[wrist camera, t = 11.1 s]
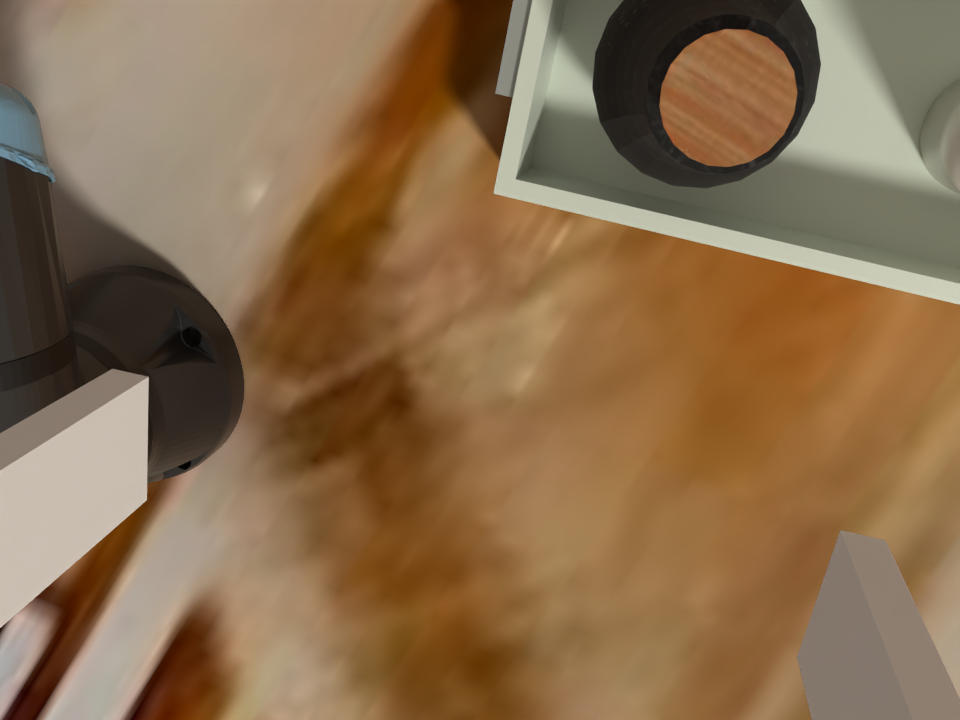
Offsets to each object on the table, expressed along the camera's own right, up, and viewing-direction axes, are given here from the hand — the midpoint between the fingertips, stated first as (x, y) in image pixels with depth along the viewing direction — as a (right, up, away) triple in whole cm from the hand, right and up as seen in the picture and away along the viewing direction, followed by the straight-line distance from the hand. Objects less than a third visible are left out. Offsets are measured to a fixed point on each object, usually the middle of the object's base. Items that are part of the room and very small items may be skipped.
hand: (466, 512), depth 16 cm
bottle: (+12, +18, +31) cm, 38 cm away
